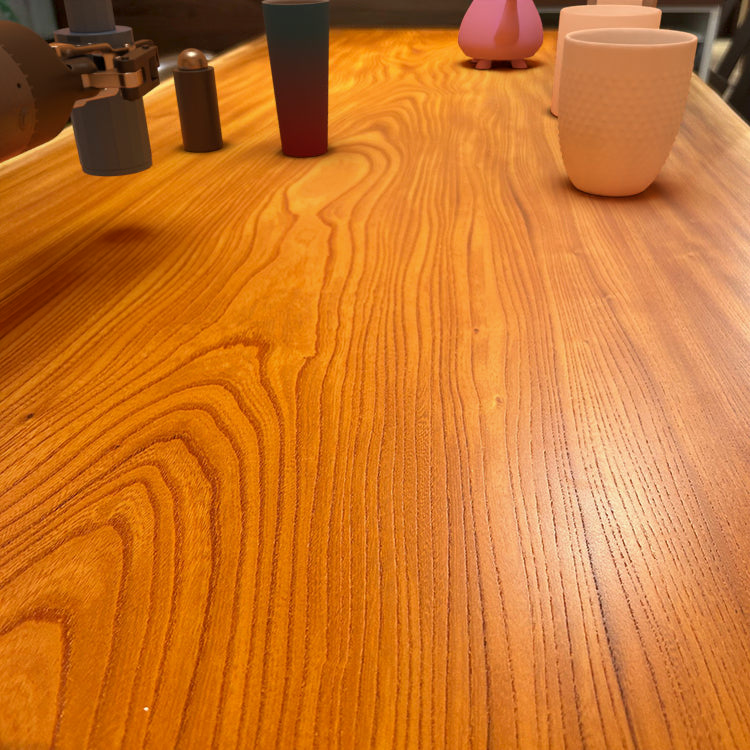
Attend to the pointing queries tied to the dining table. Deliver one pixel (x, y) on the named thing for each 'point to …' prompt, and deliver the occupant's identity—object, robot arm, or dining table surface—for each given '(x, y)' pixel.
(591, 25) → the cup
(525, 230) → the dining table surface
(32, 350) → the dining table surface
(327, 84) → the cup
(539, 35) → the teapot
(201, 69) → the pepper mill
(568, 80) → the mug
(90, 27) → the bottle
